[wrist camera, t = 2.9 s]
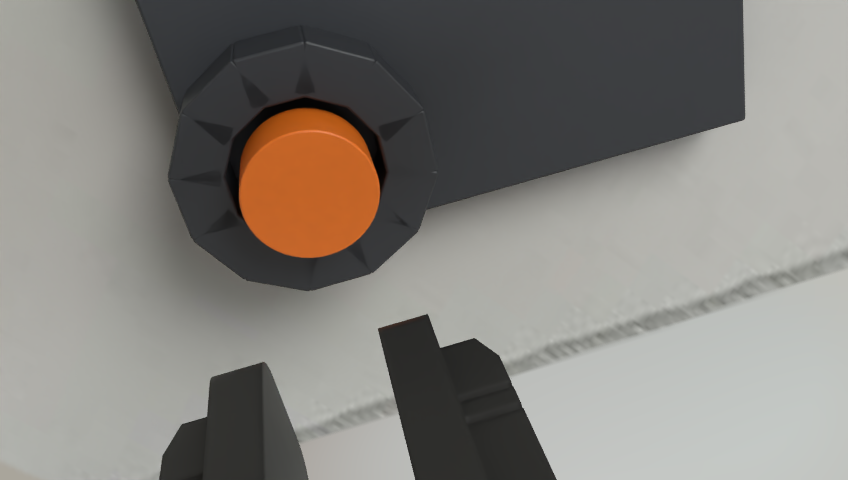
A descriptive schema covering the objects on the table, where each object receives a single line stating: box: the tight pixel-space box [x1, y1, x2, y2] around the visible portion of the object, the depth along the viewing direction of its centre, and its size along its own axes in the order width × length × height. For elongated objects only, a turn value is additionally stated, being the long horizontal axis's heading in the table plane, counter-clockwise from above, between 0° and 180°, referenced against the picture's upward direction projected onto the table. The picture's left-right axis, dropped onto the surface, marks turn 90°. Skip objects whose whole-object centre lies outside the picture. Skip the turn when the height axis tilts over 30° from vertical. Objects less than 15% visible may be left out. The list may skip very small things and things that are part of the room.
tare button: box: [239, 108, 380, 258], centre depth 18 cm, size 3×3×2 cm
